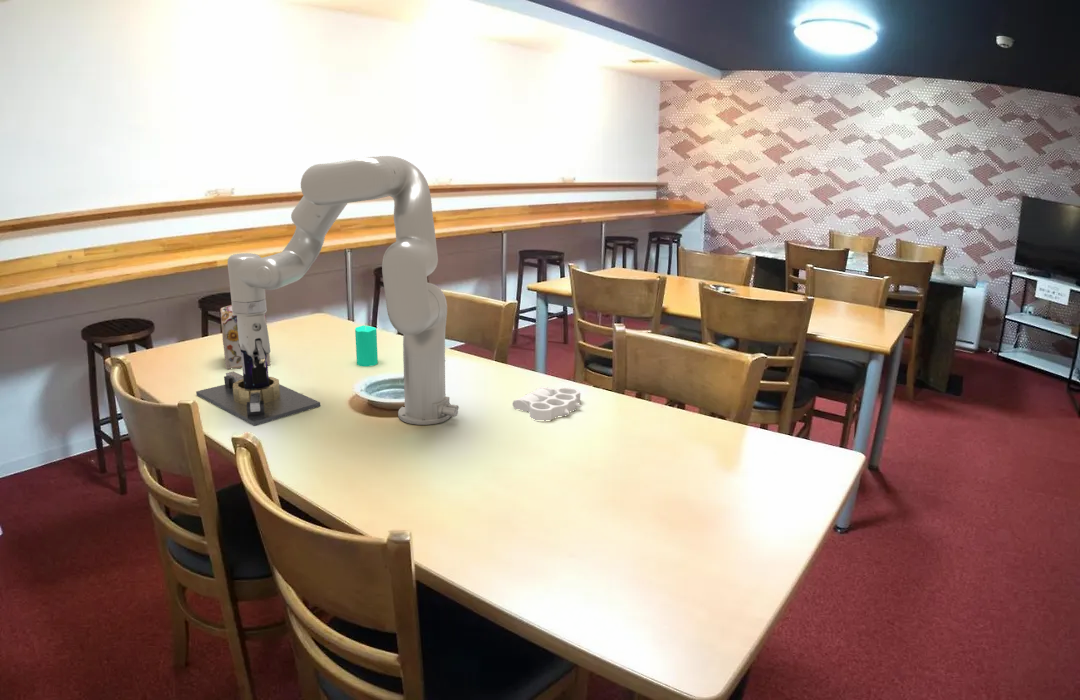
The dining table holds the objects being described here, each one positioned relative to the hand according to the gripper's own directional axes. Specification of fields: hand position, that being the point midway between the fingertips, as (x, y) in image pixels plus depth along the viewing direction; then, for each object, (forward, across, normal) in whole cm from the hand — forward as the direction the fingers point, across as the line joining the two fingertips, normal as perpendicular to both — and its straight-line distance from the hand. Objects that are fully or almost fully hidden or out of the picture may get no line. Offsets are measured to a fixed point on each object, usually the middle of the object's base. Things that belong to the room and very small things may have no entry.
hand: (256, 378), depth 170 cm
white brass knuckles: (+7, -43, -58) cm, 72 cm away
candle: (+6, +14, -34) cm, 38 cm away
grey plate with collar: (+6, 0, 0) cm, 6 cm away
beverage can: (+3, 0, 0) cm, 3 cm away
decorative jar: (+6, +33, -6) cm, 34 cm away
